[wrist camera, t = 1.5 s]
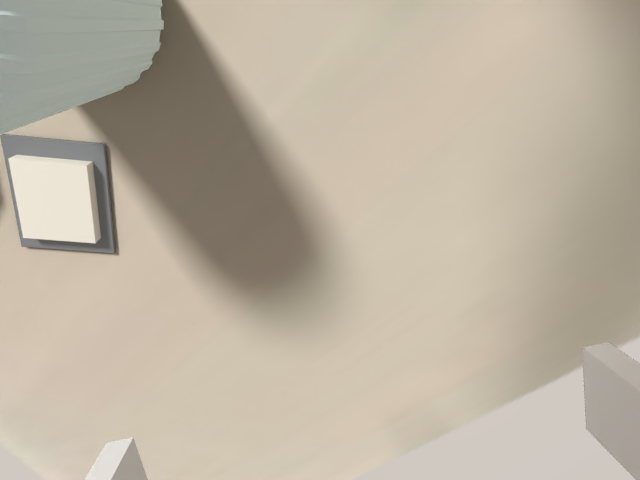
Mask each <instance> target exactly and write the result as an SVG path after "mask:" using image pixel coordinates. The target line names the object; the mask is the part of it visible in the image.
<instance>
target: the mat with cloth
mask: <svg viewBox="0 0 640 480" xmlns="http://www.w3.org/2000/svg"><path fill="white" fill-rule="evenodd" d="M0 136H1V141H2V147H3V152H4V157H5V162H6V167H7V173H8V178H9V183H10V188H11V193H12V199H13V204H14V209H15V214H16V219H17V225H18V230H19V235H20V240H21V245H22V247H36V248H49V249H63V250H77V251H90V252H104V253H114V252H115V241H114V230H113V220H112V209H111V199H110V188H109V177H108V167H107V156H106V145H105V144H103V143H92V142H82V141H71V140H61V139H50V138H39V137H29V136H18V135H7V134H2V135H0Z"/></svg>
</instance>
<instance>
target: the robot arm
mask: <svg viewBox="0 0 640 480" xmlns="http://www.w3.org/2000/svg"><path fill="white" fill-rule="evenodd" d="M582 353H583V373H584V391H585V412H586V429H587V430H588V431H589V432H590V433H591V434H592V435H593V436H594V437H595V438H596V439H597V440H598V441H599V442H600V443H601V444H602V445H603V446H604V447H605V449H606V450H607V451H608V452H609V453H610V454H611V455H612V456H613V457H614V458H615V459H616V460H617V461H618V462H619V463H620V464H621V465H622V466H623V467H624V468H625V469H626V470H627V471H628V472H629V473H630V474H631V475H632V476H633V477H634V478H635V479H636V480H640V364H639V363H638V362H637V361H635V360H634V359H632V358H631V357H629V356H628V355H626V354H625V353H623V352H622V351H621V350H619V349H618V348H616V347H615V346H613V345H612V344H610V343H609V342H606V343H601V344H597V345H592V346H587V347H582ZM85 480H148V479H147V476H146V473H145V470H144V468H143V465H142V462H141V459H140V456H139V453H138V450H137V447H136V444H135V441H134V438H133V437H132V438H127V439H122V440H117V441H112V442H107V443H106V445H105V446H104V448H103V450H102V451H101V453H100V455H99V456H98V458H97V460H96V461H95V463H94V465H93V466H92V468H91V470H90V471H89V473H88V475H87V476H86V478H85Z"/></svg>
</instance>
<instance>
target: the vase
mask: <svg viewBox="0 0 640 480" xmlns="http://www.w3.org/2000/svg"><path fill="white" fill-rule="evenodd" d="M162 6H163V5H162V0H0V134H2V133H5V132H8V131H11V130H13V129H16V128H19V127H22V126H24V125H27V124H30V123H33V122H35V121H38V120H41V119H44V118H46V117H49V116H52V115H54V114H57V113H60V112H63V111H65V110H68V109H71V108H74V107H76V106H79V105H82V104H85V103H87V102H90V101H93V100H96V99H98V98H101V97H104V96H107V95H109V94H112V93H115V92H117V91H120V90H122V89H123V88H124V86H127V85H130V84H133V83H135V82H136V81H137V80H138V79H139V78H140V74H141V73H142V72H143V71H144V70H148V69H149V68H150V66H151V65H152V63H153V61H152V58H153V56H154V54H155V52H156V51H159V48H160V45H161V43H160V41H159V39H160V33H161V30H163V29H164V21H163V20H162V19H161V7H162Z"/></svg>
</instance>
